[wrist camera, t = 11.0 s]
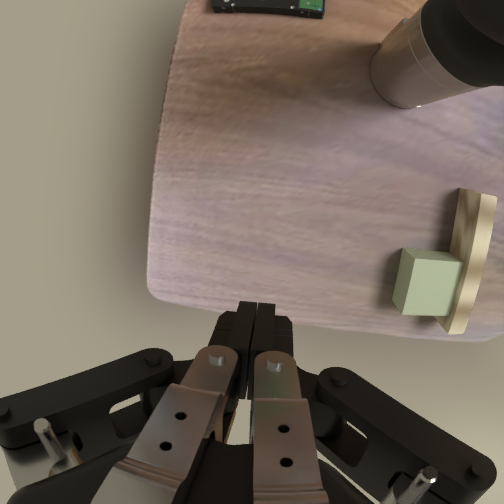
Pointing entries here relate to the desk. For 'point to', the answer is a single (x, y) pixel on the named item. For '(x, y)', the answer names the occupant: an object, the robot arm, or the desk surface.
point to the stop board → (469, 253)
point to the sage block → (426, 282)
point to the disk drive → (272, 7)
